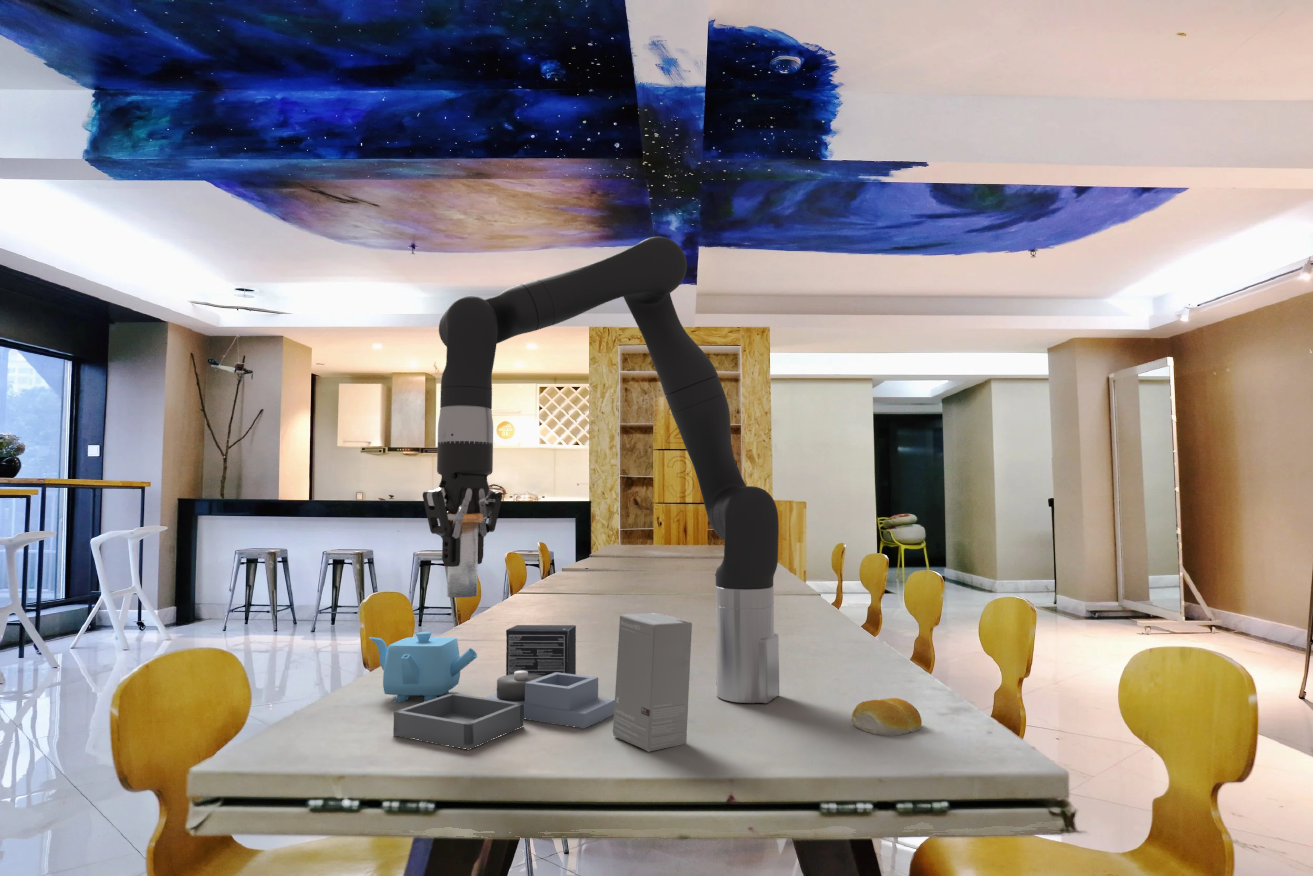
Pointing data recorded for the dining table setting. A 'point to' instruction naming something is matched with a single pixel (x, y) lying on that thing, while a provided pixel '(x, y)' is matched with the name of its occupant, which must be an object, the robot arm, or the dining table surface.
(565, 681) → the block
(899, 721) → the bread roll
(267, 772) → the dining table surface
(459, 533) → the robot arm
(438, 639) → the teapot
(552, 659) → the small box
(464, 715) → the tray
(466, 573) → the copper capped glass jar
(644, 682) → the skincare box
